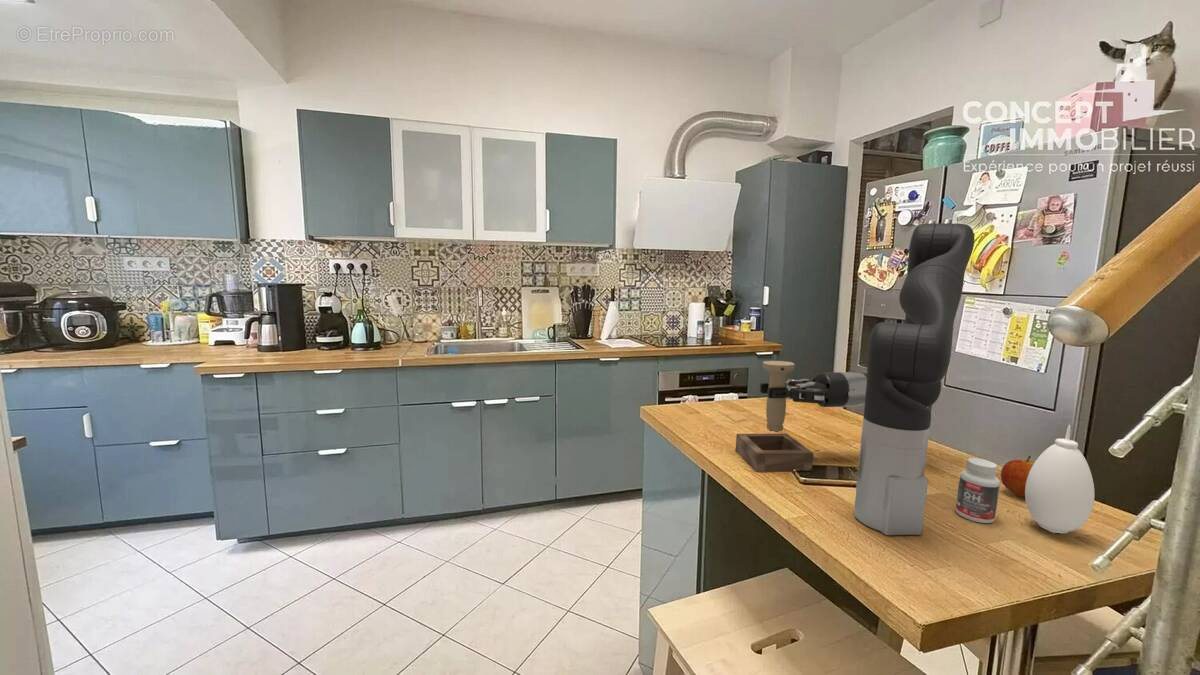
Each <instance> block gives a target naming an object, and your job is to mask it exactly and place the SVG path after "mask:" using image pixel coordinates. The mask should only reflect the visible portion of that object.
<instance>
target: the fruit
mask: <svg viewBox="0 0 1200 675" xmlns="http://www.w3.org/2000/svg"><path fill="white" fill-rule="evenodd" d="M1031 457H1032V456H1031V455H1028V458H1026V459H1021V458H1020V459H1018V458H1017V459H1011V460H1009V461H1007V462H1006V463H1004V465H1003V467H1002V468H1001V471H1000V480H1001V483H1002V484H1003V486H1004V488H1006V489H1007V490H1008V491H1009V492H1011V493H1012V494H1013V495H1015V496H1017V497H1019V498H1023V499H1025V487H1026V481H1027V477H1028V475H1029V472H1030V470H1031V468H1032V466H1033V464H1034V463H1035V461H1033V460H1030V459H1031Z"/></svg>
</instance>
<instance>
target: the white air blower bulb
mask: <svg viewBox="0 0 1200 675" xmlns="http://www.w3.org/2000/svg"><path fill="white" fill-rule="evenodd" d="M1070 438H1071V424H1068V426H1067V428H1066V432H1065V438H1056V439H1054V444H1051V445H1050V446H1049V447H1047V448H1046V449H1045V450H1044V451H1043V452H1042V453H1041V454H1040V455H1039V456H1038V457H1037V459H1035V461H1034V462H1035V463H1034V464H1033V466H1032V468H1031V470H1030V472H1029V475H1028V477H1027V481H1026V487H1025V498H1024V500H1025V504H1026V507H1027V510H1028V512H1029V514H1030V516H1031V518H1032V520H1034V521H1036V522H1037V524H1038V525H1039V526H1040V527H1041V528H1043V529H1046V530H1045V531H1047V530H1048V531H1050V532H1049V533H1051V532H1053V533H1052V534H1055V533H1060V534H1068V533H1069V532H1075V531H1077V530H1079V529H1080V528H1082V527H1083V526H1084V524H1085V523H1086V522H1087V521H1088V520H1089V518H1090V516H1091V514H1092V511H1093V508H1094V503H1095V486H1094V485H1095V484H1094V480H1093V475H1092V471H1091V469H1090V466H1089V464H1088V462H1087V459H1086V458H1085V456H1084V455H1083V453H1082V452H1081V450H1080V449H1078V448H1079V443H1078V442H1077V441H1075V440H1071V439H1070ZM1048 531H1047V532H1048Z"/></svg>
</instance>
